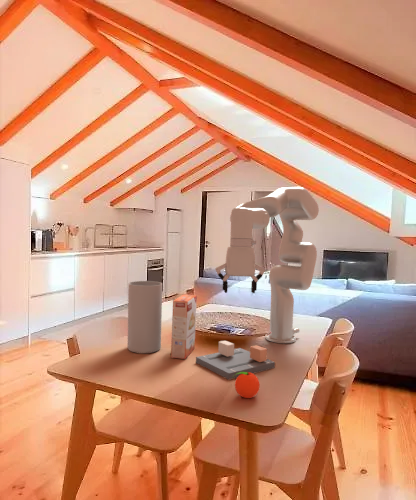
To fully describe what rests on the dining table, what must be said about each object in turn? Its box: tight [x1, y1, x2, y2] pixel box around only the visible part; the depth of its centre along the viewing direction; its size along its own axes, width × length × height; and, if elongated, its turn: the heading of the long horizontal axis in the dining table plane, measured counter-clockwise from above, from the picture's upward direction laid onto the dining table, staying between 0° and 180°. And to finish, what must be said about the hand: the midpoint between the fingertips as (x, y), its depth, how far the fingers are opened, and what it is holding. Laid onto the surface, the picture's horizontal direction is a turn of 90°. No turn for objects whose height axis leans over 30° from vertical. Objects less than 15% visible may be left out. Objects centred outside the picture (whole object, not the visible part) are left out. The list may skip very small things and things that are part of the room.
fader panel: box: [195, 347, 276, 381], centre depth 141 cm, size 20×18×2 cm
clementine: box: [233, 372, 261, 399], centre depth 115 cm, size 8×7×7 cm
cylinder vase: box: [126, 280, 163, 354], centre depth 155 cm, size 12×12×25 cm
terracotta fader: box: [249, 345, 268, 362], centre depth 140 cm, size 3×5×4 cm, turn 36°
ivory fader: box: [217, 340, 235, 357], centre depth 144 cm, size 3×5×4 cm, turn 36°
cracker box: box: [170, 293, 198, 360], centre depth 151 cm, size 14×6×21 cm, turn 168°
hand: (239, 292), depth 143 cm, fingers open, 9 cm apart
